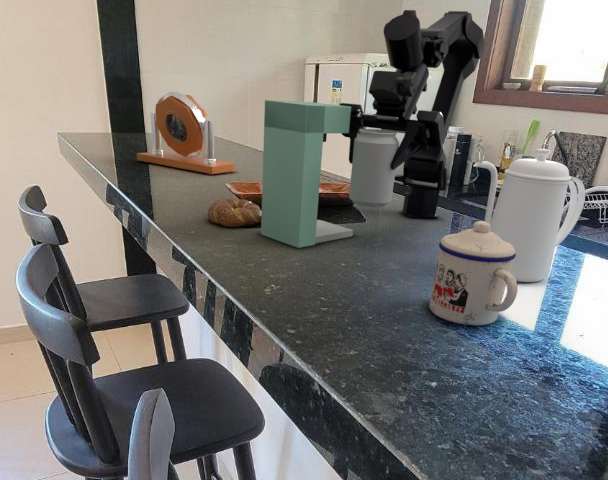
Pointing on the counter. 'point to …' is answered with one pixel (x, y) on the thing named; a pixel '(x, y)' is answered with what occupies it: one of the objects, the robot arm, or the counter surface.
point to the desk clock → (183, 136)
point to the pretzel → (234, 213)
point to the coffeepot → (533, 211)
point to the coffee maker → (297, 170)
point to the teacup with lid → (473, 277)
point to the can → (373, 168)
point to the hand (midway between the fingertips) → (370, 164)
